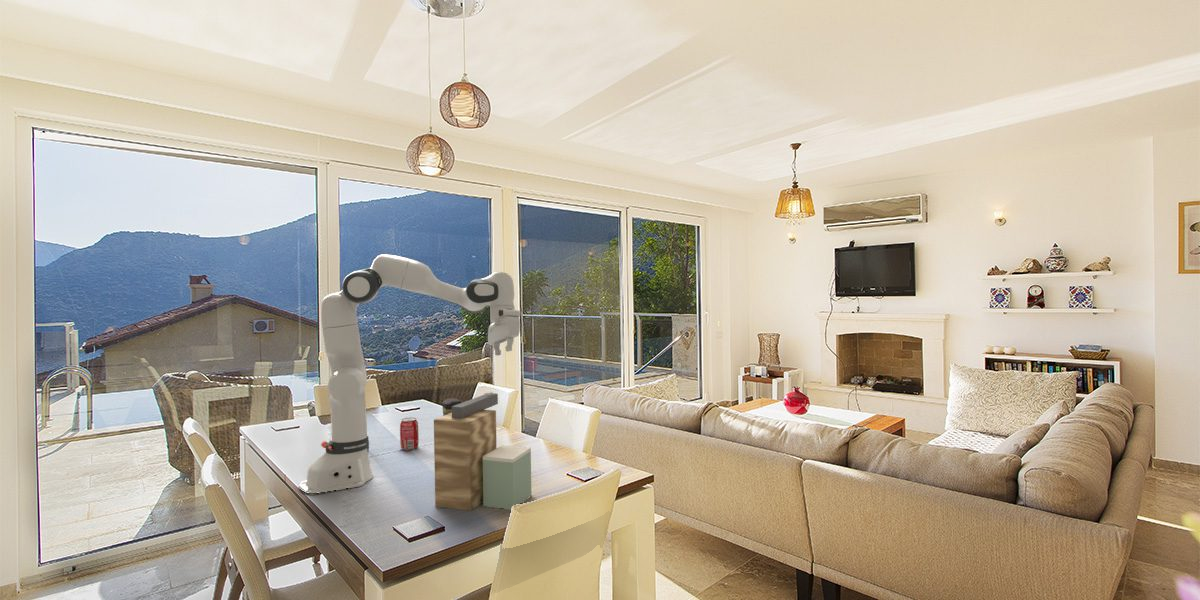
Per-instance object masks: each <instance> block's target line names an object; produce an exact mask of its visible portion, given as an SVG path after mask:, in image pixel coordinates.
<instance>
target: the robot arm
mask: <svg viewBox="0 0 1200 600" xmlns="http://www.w3.org/2000/svg"><path fill="white" fill-rule="evenodd" d="M383 287H391V288H395V289H398V290H403V291H408V292H411V293H417V294H421V295H426V296H429V297H433V298H435V299H439V300H441V301H445V302H449V303H452V304H455V305H457V306H459V307H460V308H461V309H463V310H464V311H466V312H467V313H469V314H479V313H482V312H484V311H485V309H486V308H487V306H488V307H489V309H490V310H489V315H490V322H491V324H490V325H489V326H488V330H487V331H488V332H487V343H488V345H490V346H492V347H493V351H494V355H495V356H498V357H499V356H501V355H502V351H501V349H500V347H501V344H502V343H504V342H506V346H505V352H509V353H510V352H511V351H513V344H514V339H515V338H516V337H519V335H520V331H521V330H520V329H521V326H520V325H521V324H520V323H521V321H520V317H521V310H516V309H515V304H514V299H515V285H514V280H513V278H512V276H511V275H510V274H508V273H506V272H502V271H494V272H492V273H491V274H490V275H488V276H485V277H483V278H475V279H473V280H471V281H470V282H468V284H467V286H466V287H459V286H456V285H453V284H450V283H447V282H443V281H442V280H440V279H438V278H437V277H436V276H435V275H434V273H433V271H432V270H431V268H430V266H428V264H425V263H423V262H420V261H418V260H416V259H411V258H408V257H403V256H399V255H393V254H386V253H385V254H380V255H377V256H376V257H375V258H374V259H373V262H372V263H371V266H370V267H368V268H364V269H359V270H355V271H352V272H350V273H349V274H348V275H346V276H345V277H344V279H343V281H342V285H341V289H342V290H341V291H339V292H335V293H330V294H328V295H327V296H325V297H324V298H323V299H322V301H321V311H320V313H321V314H320V315H321V316H320V318H321V328H322V329H321V330H322V336H323V342H324V349H325V353H326V357H327V359H328V360H327V361H328V363H329V368H330V375H331V376H330V378H329V379H328V383H327V387H328V388H327V389H328V390H327V391H328V403H329V410H330V419H331V420H330V421H331V422H330V423H331V429H330V430H331V440H329V441H328V442H327V441H326V440H324V441H322V442H321V443H320V446H321V447H322V448H323V449H325V453H323V454H322V455H321V456H320V457H318V458H317V459H316V460H315V461H314V462H313V463H311V465H310V466H309V467H308V470H307V473H306V479H304V480H302V481H301V482H300V483H299V485H298V487H299V486H300V488H301V489H302V490H304V491H306V492H309V493H317V492H325V493H327V492H326V491H331V492H334V490H336V491H340V490H341V491H342V490H347V489H346V488H348V489H352V488H358V487H363V485H364V484H365V483H367V482H369V481H371V480H372V479H373V477H374V474H373V472H372V467H371V465H370V464H371V463H370V459H369V450H370V440H369V436H368V419H367V418H368V417H367V416H368V414H367V413H368V412H367V413H366V411H367V404H366V392H365V391H366V385H367V382H368V373H367V368H366V363H365V358H364V353H363V348H362V344H361V336H360V330H359V324H358V323H359V322H358V317H357V313H358V312H357V310H358V307H359V305H361V304H366V303H369V302H371V301H372V300H374V299H375V297H376V296H377V295H378V293H379V291H380V289H381V288H383ZM300 488H299V489H300Z"/></svg>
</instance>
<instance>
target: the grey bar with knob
mask: <svg viewBox="0 0 1200 600" xmlns="http://www.w3.org/2000/svg"><path fill="white" fill-rule="evenodd" d="M498 395H499V394H498V393H493V391H487V392H484V394H482V395H479V396H476V397H473V398H471V399H469V400H465V401H462V402H463V403H460V404H457V405H455V406H452V418H455V419H463V418H465V417H468V416H470V415H473V414H475V413H477V412H480V411H482V410H488V409H490V408H492V407H493V406H496V405H498V403H499V397H498Z"/></svg>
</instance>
